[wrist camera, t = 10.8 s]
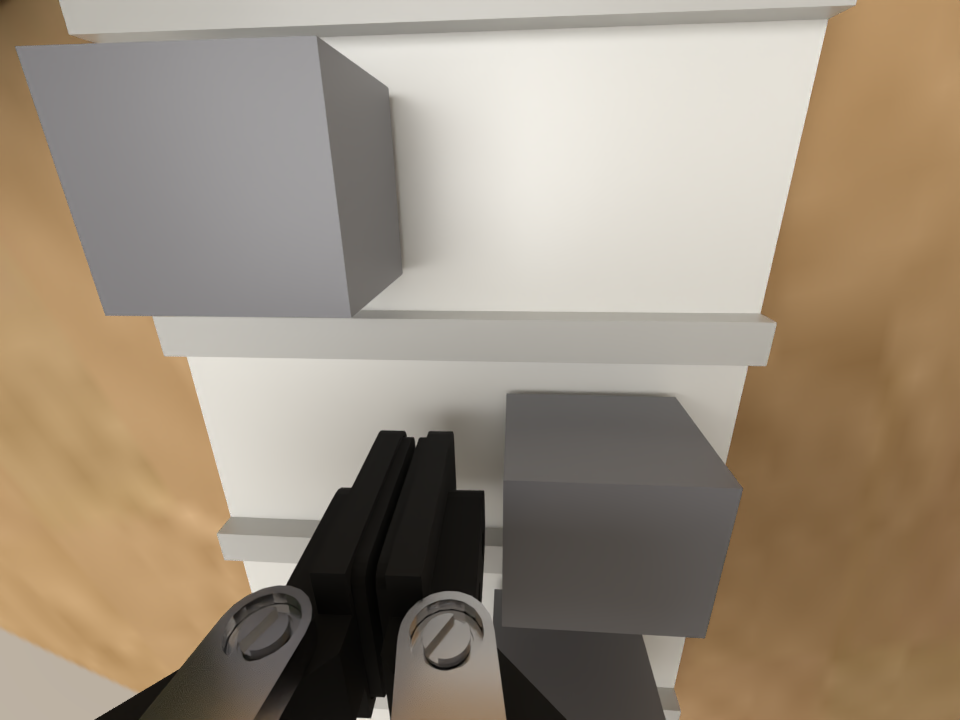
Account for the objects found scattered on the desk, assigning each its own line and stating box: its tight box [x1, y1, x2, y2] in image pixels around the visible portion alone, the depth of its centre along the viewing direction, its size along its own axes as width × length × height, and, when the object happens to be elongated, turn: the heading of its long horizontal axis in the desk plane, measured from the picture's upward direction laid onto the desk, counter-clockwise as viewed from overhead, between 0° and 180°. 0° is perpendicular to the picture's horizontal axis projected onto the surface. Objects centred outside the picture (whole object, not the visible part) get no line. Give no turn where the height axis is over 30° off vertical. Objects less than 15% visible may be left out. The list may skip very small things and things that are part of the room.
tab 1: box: [15, 36, 403, 318], centre depth 8 cm, size 4×4×3 cm
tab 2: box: [502, 393, 743, 638], centre depth 10 cm, size 4×4×3 cm
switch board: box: [59, 0, 857, 720], centre depth 13 cm, size 14×26×3 cm, turn 1°
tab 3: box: [493, 589, 666, 720], centre depth 12 cm, size 4×4×3 cm
